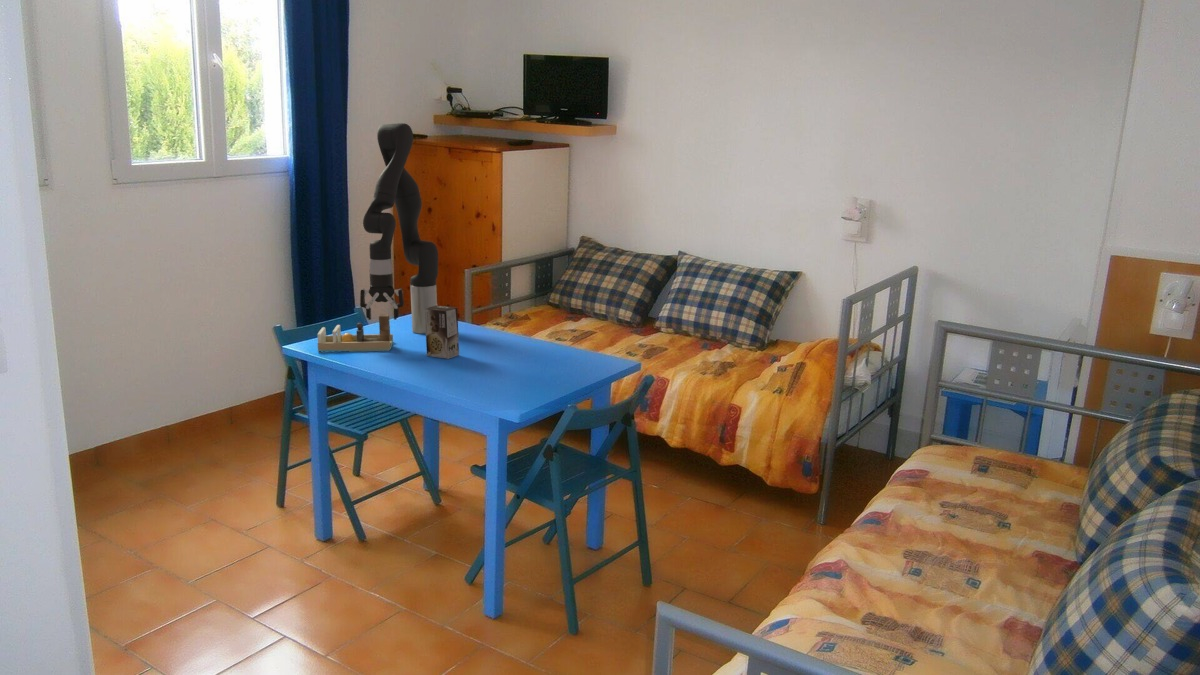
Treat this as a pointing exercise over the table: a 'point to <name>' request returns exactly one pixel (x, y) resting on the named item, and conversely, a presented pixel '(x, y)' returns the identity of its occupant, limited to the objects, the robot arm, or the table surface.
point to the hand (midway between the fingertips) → (382, 319)
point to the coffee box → (442, 331)
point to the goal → (322, 335)
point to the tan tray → (356, 344)
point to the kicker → (383, 326)
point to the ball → (347, 337)
